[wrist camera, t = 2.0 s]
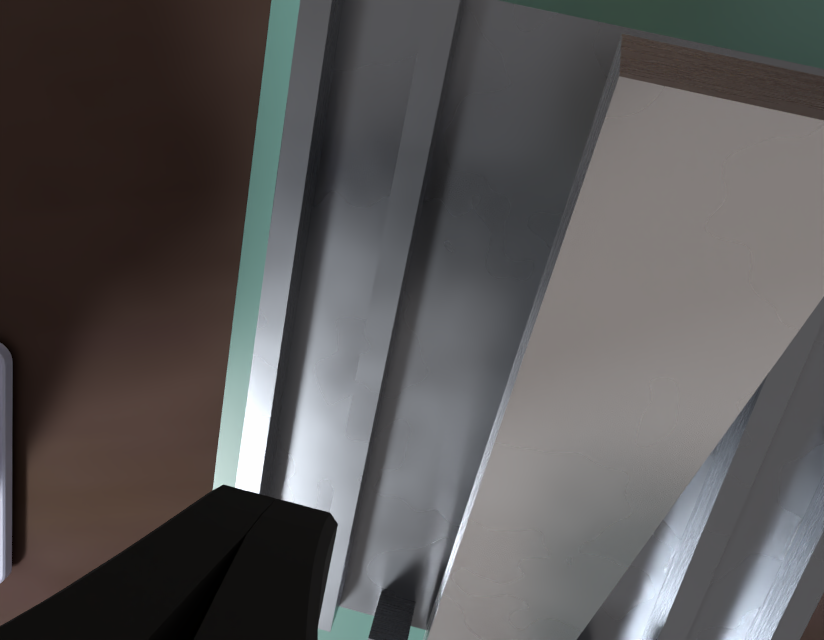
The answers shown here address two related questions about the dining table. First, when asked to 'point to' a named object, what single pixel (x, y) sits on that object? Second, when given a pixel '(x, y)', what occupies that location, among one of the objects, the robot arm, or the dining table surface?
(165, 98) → the dining table surface
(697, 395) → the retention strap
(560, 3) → the circuit board
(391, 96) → the heat sink
